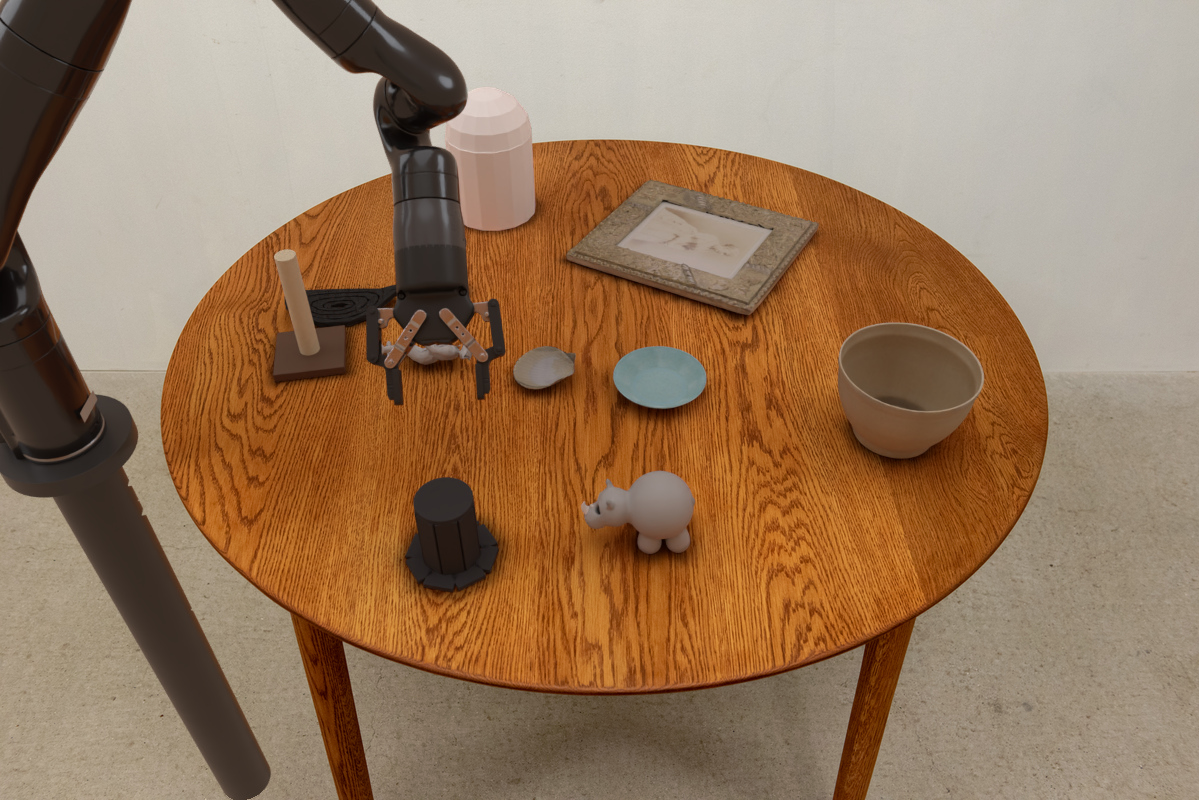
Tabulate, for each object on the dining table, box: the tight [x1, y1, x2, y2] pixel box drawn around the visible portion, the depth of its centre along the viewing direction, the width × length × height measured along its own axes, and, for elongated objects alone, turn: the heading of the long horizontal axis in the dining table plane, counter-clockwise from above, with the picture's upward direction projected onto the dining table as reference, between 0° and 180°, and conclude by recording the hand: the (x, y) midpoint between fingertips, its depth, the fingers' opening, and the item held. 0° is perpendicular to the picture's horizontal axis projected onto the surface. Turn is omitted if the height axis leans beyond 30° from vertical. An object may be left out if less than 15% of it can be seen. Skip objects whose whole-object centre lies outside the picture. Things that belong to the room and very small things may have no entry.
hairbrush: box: [283, 283, 397, 328], centre depth 133 cm, size 8×4×25 cm
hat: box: [404, 476, 499, 593], centre depth 98 cm, size 10×10×9 cm
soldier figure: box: [382, 340, 473, 366], centre depth 124 cm, size 8×5×12 cm
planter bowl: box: [837, 321, 985, 459], centre depth 112 cm, size 16×16×11 cm
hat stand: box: [272, 248, 347, 383], centre depth 121 cm, size 9×9×16 cm
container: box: [444, 86, 536, 232], centre depth 147 cm, size 14×13×20 cm
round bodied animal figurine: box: [580, 470, 696, 555], centre depth 100 cm, size 7×12×8 cm, turn 90°
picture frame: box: [565, 179, 820, 316], centre depth 145 cm, size 27×30×3 cm
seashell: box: [512, 345, 577, 390], centre depth 122 cm, size 8×3×8 cm
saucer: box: [612, 345, 707, 410], centre depth 120 cm, size 12×12×2 cm
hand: (440, 402), depth 99 cm, fingers open, 8 cm apart
